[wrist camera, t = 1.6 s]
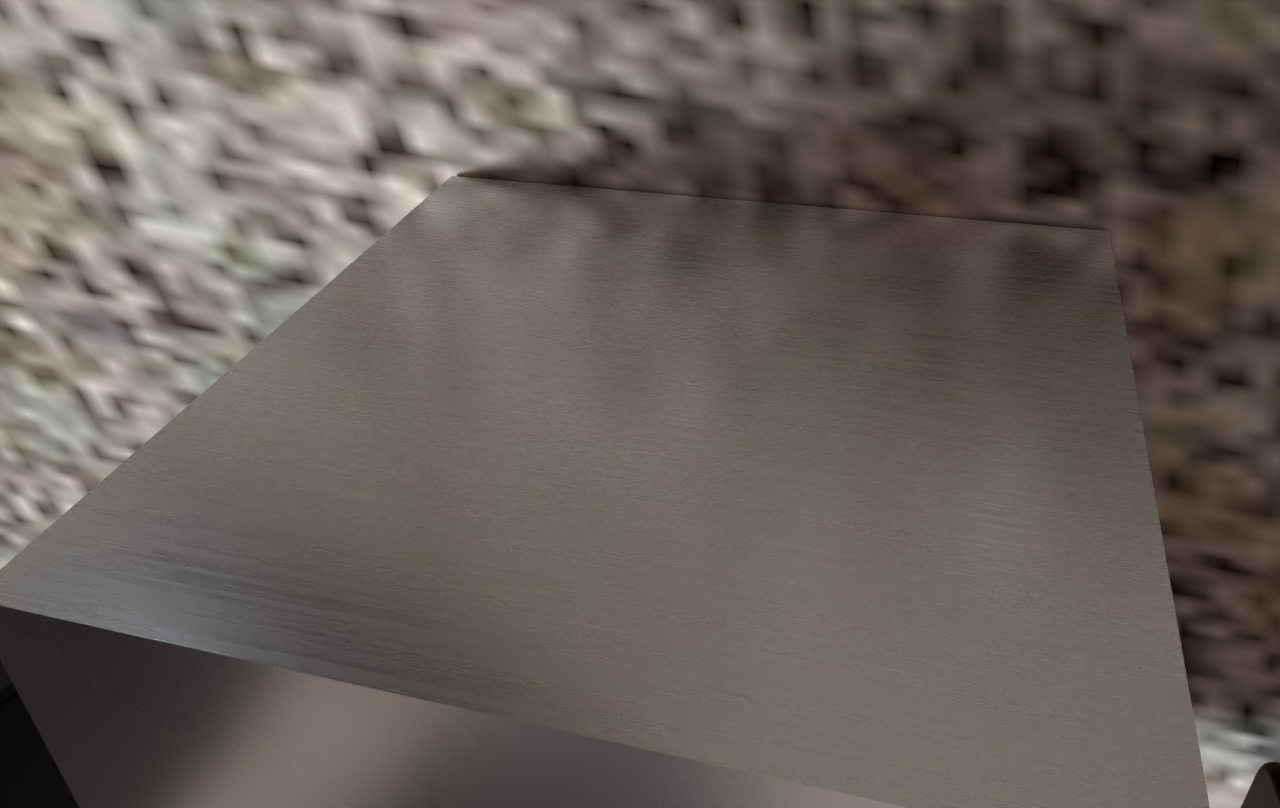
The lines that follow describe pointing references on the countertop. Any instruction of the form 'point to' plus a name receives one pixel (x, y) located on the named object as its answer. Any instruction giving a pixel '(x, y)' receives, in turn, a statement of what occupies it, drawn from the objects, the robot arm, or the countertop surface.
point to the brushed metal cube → (635, 530)
